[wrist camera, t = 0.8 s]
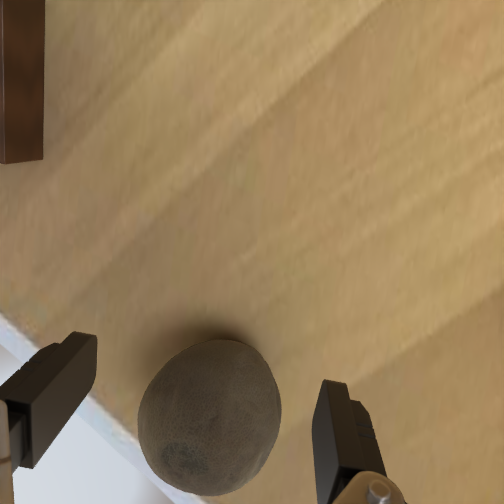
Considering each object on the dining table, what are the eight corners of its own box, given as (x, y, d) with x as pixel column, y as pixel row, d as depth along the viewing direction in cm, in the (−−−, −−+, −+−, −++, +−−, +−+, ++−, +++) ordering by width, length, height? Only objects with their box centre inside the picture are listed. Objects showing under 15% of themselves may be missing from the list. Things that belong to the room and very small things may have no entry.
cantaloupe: (192, 296, 45) (149, 373, 31) (301, 346, 46) (309, 444, 32) (150, 387, 49) (96, 492, 35) (250, 432, 50) (238, 552, 36)
